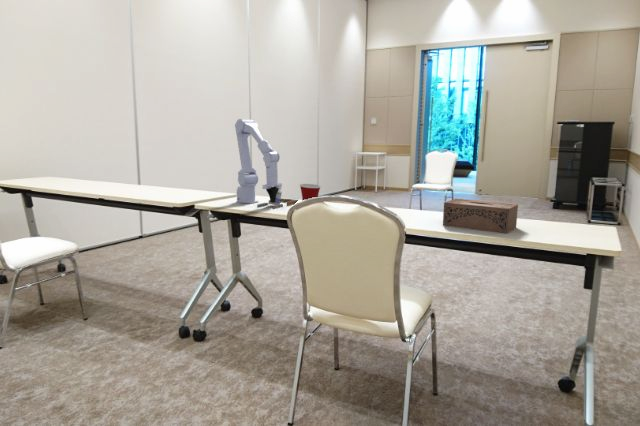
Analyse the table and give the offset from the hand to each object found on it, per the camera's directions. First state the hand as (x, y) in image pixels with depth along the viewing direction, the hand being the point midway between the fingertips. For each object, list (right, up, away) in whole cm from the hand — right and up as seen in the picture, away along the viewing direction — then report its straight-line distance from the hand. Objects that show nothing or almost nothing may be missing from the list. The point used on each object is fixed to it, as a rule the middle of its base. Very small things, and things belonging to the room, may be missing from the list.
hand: (273, 202), depth 235 cm
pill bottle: (0, -1, +3) cm, 3 cm away
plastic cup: (+19, -3, -3) cm, 20 cm away
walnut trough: (+5, 0, +12) cm, 13 cm away
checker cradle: (-1, -2, 0) cm, 3 cm away
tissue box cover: (+90, -12, -44) cm, 101 cm away
